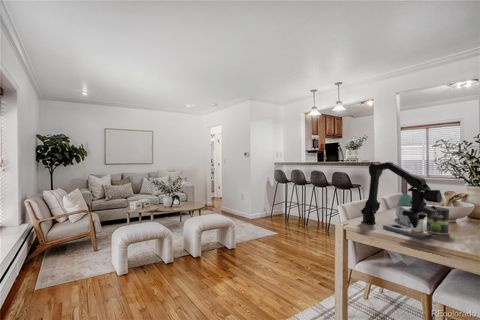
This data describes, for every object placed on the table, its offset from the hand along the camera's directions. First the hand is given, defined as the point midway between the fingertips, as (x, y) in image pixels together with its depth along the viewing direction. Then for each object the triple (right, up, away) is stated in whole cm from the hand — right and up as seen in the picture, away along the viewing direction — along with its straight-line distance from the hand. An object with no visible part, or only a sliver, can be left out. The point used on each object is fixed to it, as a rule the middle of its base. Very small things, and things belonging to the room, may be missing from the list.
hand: (417, 227), depth 137 cm
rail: (-2, -4, +5) cm, 7 cm away
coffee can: (+17, -5, +7) cm, 19 cm away
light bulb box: (+11, -4, +23) cm, 26 cm away
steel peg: (0, -3, 0) cm, 3 cm away
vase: (+17, -4, +34) cm, 38 cm away
